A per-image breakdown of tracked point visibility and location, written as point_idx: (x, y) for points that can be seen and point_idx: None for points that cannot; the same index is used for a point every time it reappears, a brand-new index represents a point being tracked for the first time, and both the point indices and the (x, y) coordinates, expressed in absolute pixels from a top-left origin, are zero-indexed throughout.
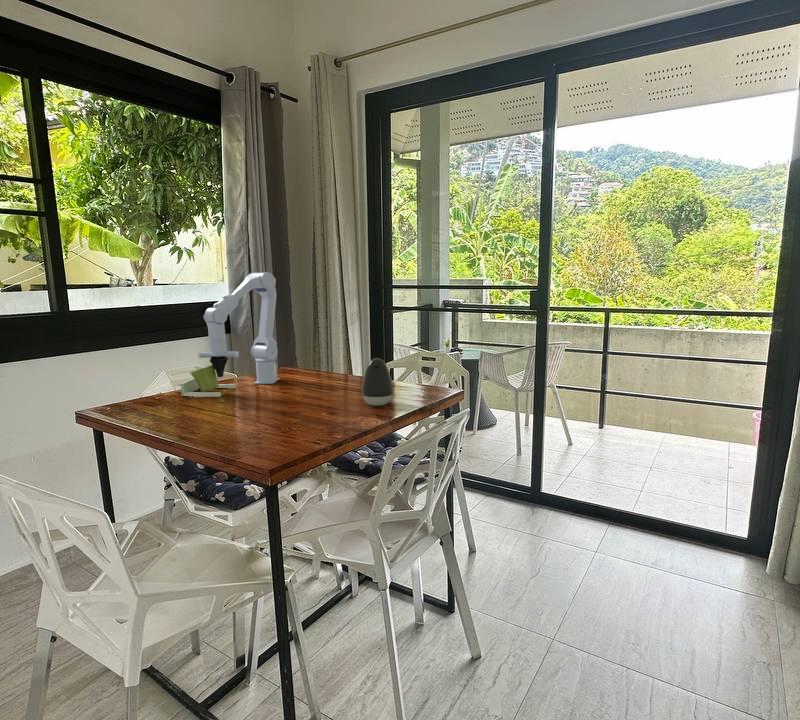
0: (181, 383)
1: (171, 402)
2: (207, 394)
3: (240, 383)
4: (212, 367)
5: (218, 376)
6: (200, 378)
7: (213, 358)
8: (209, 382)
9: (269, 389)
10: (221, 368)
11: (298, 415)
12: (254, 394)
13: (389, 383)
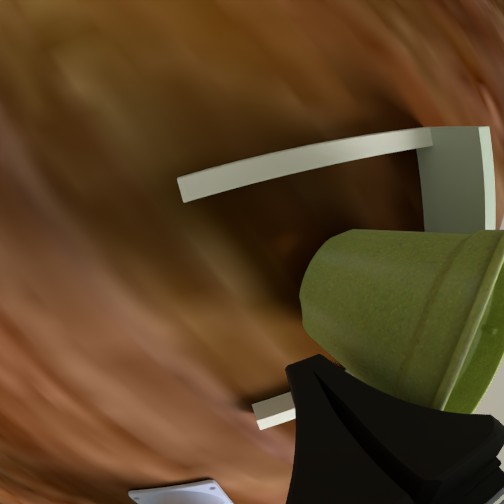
0: (486, 126)
1: (389, 5)
2: (280, 151)
3: (290, 468)
4: (420, 397)
5: (313, 359)
6: (436, 235)
7: (469, 487)
8: (353, 266)
9: (42, 416)
10: (297, 432)
11: None
12: (8, 302)
13: None
